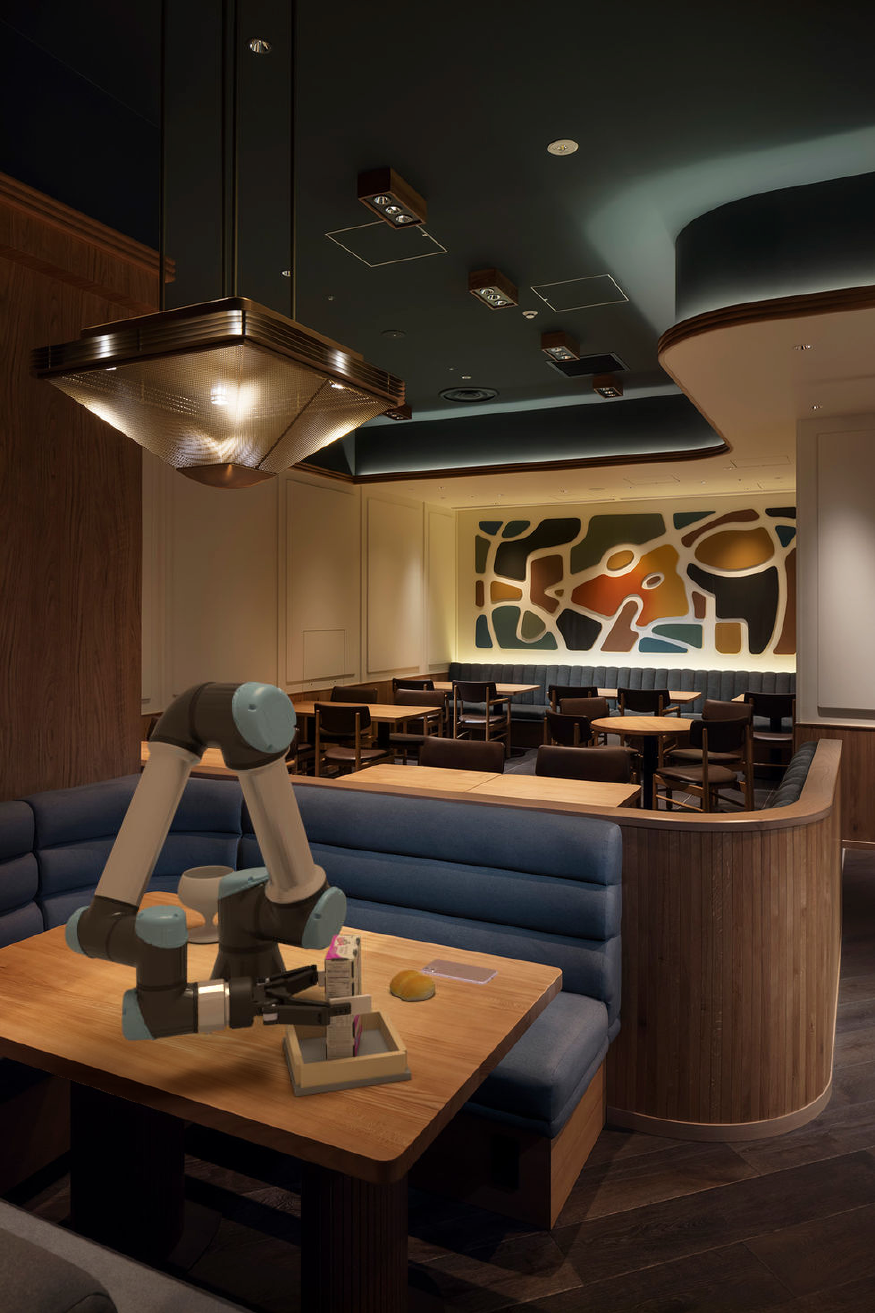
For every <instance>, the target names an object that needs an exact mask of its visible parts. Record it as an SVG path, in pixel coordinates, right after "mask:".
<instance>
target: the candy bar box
mask: <svg viewBox="0 0 875 1313" xmlns="http://www.w3.org/2000/svg"><path fill="white" fill-rule="evenodd" d="M361 937H362V935H361V934H344V935H342V934H339V935H334V936H333V938H332V941H331V944H330V946H329V947H328V949H327V952H326V955H325V958H324V959H323V960H324V962H323V963H324V969H325V987H324V1001H325V1002H329V999H331V998H340V997H348V996H357V995H362V948H361V947H362V946H361V944H362V943H361V940H362V939H361ZM361 1032H362V1014H359V1015H351V1016H343V1017H335V1018H330V1025H327V1026H326V1060H327V1061H330V1060H337V1059H344V1058H351V1057H356V1054H357V1050H358V1045H359V1041H360V1037H361Z"/></svg>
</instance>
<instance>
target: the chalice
mask: <svg viewBox="0 0 875 1313" xmlns="http://www.w3.org/2000/svg"><path fill="white" fill-rule="evenodd" d="M233 872H236V871H235V870H234V868H232V867H229V866H225V865H224V866H223V865H207V866H198V867H194V868H191V869H188V870H185V871H184V872H182V875H181V876H180V879H179V882H178V886H177V898H178V899H179V900H178V901H179V902H180V903H181V904H182V905H183V906H185V907H186V908H188V909H190V910H192V911H195V912H196V913H199V914H200V915H201V916H202V917H203V918H204V925H200V926H197V927H194V928H190V929H189V930H188V929H187V932H188V942H189V943H194V944H195V943H197V944H208V943H217V942H219V940H218V924H214V918H215V916H216V914H218V900H217V897H218V888H219V882H220V880H221V879H222V878H223V877H224V876H226V875H228V874H230V873H233Z"/></svg>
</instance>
